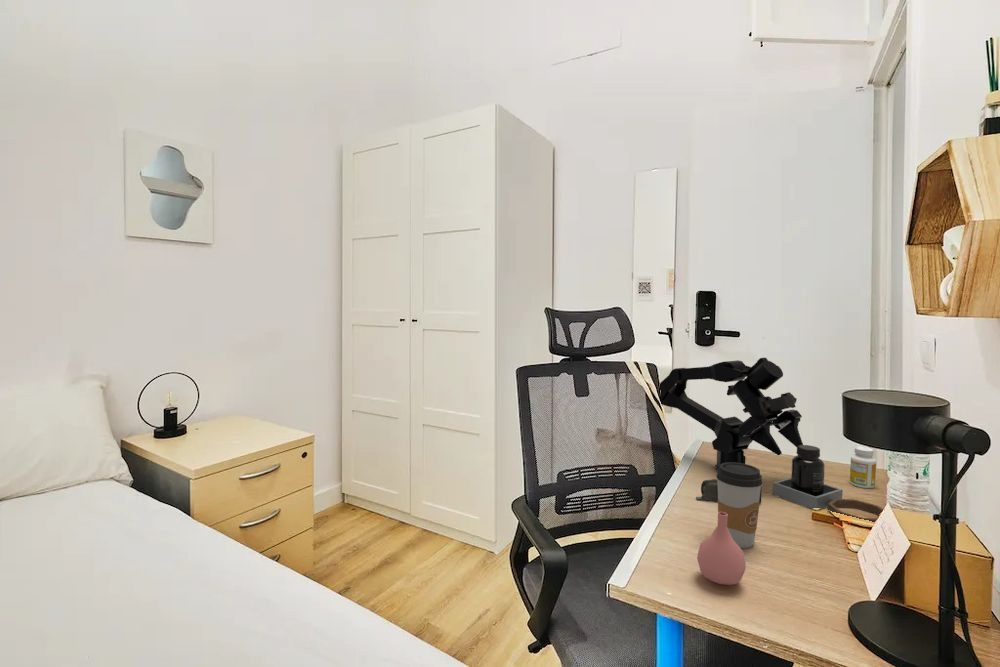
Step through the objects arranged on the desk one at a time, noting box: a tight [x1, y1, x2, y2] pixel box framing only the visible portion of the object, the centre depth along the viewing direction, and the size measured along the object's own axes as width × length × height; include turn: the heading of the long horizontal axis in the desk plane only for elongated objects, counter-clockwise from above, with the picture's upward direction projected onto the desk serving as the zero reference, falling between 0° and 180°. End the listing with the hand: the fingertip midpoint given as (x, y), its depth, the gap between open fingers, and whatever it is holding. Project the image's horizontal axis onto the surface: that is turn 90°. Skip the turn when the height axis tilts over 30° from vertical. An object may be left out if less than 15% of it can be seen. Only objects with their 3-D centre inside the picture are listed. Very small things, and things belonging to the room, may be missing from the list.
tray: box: [771, 477, 844, 510], centre depth 121 cm, size 11×11×3 cm
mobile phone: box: [695, 478, 763, 505], centre depth 119 cm, size 5×3×15 cm
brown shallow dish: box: [827, 498, 884, 522], centre depth 111 cm, size 11×11×2 cm
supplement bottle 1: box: [790, 444, 825, 497], centre depth 121 cm, size 7×7×12 cm
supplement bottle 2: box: [849, 446, 877, 489], centre depth 129 cm, size 5×5×10 cm
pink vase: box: [696, 511, 747, 586], centre depth 85 cm, size 8×8×12 cm
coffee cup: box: [715, 462, 763, 549], centre depth 99 cm, size 8×8×15 cm
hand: (791, 451), depth 124 cm, fingers open, 9 cm apart
